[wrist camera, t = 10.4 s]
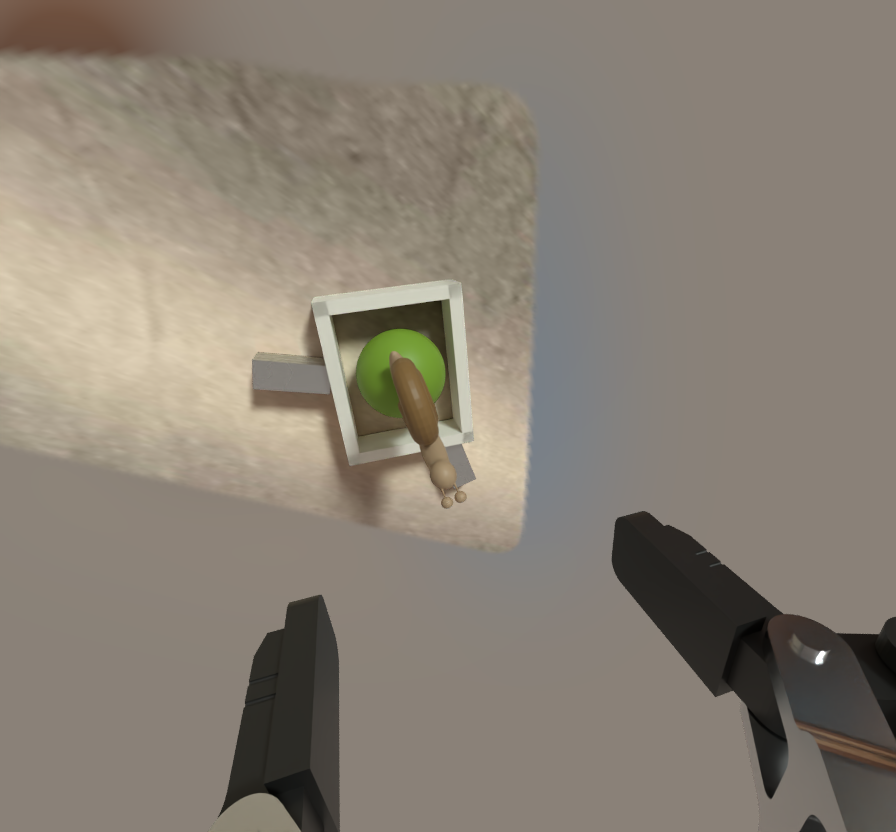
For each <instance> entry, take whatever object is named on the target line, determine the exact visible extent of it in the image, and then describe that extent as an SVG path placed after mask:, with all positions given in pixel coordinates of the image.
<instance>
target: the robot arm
mask: <svg viewBox="0 0 896 832" xmlns="http://www.w3.org/2000/svg"><path fill="white" fill-rule="evenodd" d="M612 565H613V568H614V571H615V574H616V575H617V578H618V579H619V581H620V582H621V583H622V584H623V586H624V587H625V588H626V589H627V591H628V592H629V593H630V594H631V595H632V597H633V598H634V599H635V600H636V601H637V603H638V604H639V605H640V606H641V607H642V609H643V610H644V611H645V612H646V614H647V615H648V616H649V617H650V618H651V619H652V621H653V622H654V623H655V624H656V625H657V627H658V628H659V629H660V630H661V632H662V633H663V634H664V635H665V637H666V638H667V639H668V640H669V641H670V643H671V644H672V645H673V646H674V647H675V649H676V650H677V651H678V652H679V653H680V655H681V656H682V657H683V658H684V659H685V661H686V662H687V663H688V664H689V665H690V667H691V668H692V669H693V670H694V672H695V673H696V674H697V675H698V677H699V678H700V679H701V680H702V681H703V683H704V684H705V685H706V686H707V687H708V689H709V690H710V691H711V692H712V693H713V695H714V696H715V697H717V696H720V695H722V694H725V693H727V692H730V691H734V692H735V693H736V694H737V695H738V697H739V698H740V699H741V703H740V712H741V717H742V722H743V727H744V732H745V737H746V742H747V747H748V752H749V757H750V762H751V767H752V773H753V778H754V783H755V787H756V793H757V798H758V805H759V827H758V832H896V617H893V618H890V619H888V620H887V621H886V622H885V624H884V626H883V628H882V630H881V632H880V634H840V633H835V632H834V631H832V630H831V629H829V628H828V627H826V626H824V625H822V624H820V623H818V622H816V621H814V620H812V619H809V618H806V617H802V616H799V615H793V614H783V613H782V612H780V611H779V610H778V609H777V608H775V607H774V606H773V605H772V604H771V603H769V602H768V601H767V600H766V599H765V598H763V597H762V596H761V595H760V594H759V593H757V592H756V591H755V590H754V589H753V588H751V587H750V586H749V585H748V584H747V583H746V582H744V581H743V580H742V579H741V578H740V577H738V576H737V575H736V574H735V573H734V572H732V571H731V570H730V569H729V568H728V567H726V566H725V565H722V564H721V562H720V561H719V560H718V559H717V558H716V557H715V556H713V555H712V554H711V553H710V552H709V553H708V552H707V551H706V549H705V548H704V547H703V546H702V545H700V544H699V543H698V542H697V541H696V540H694V539H693V538H692V537H691V536H690V535H688V534H686V533H684V532H682V531H680V530H678V529H676V528H674V527H672V526H670V525H666V526H663V525H662V524H661V523H660V522H659V521H658V520H657V519H655V518H654V517H653V516H652V515H651V514H650V513H647V512H645V511H642V512H638V513H634V514H630V515H626V516H623V517H619V518H618V519H617V520H616V522H615V530H614V540H613V550H612ZM339 817H340V814H339V659H338V649H337V643H336V638H335V634H334V631H333V627H332V624H331V621H330V618H329V615H328V612H327V608H326V605H325V602H324V599H323V597H322V595H317V596H313V597H309V598H306V599H302V600H298V601H294V602H290V603H289V604H288V607H287V614H286V620H285V628H284V629H281V630H277V631H274V632H270V633H267V635H266V637H265V638H264V640H263V642H262V644H261V645H260V647H259V649H258V651H257V652H256V654H255V656H254V659H253V664H252V669H251V674H250V679H249V686H248V689H247V695H246V699H245V708H244V710H243V715H242V720H241V725H240V730H239V735H238V740H237V745H236V750H235V755H234V760H233V766H232V770H231V775H230V780H229V786H228V790H227V795H226V798H225V802H224V805H223V807H222V810H221V812H220V815H219V816H218V819H217V820H216V821H215V822H214V824H213V825H212V827H211V828H210V830H209V831H208V832H340V829H339V828H340V823H339V822H340V819H339Z"/></svg>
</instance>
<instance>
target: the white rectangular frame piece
mask: <svg viewBox="0 0 896 832" xmlns="http://www.w3.org/2000/svg"><path fill="white" fill-rule="evenodd" d="M437 300H441V303H442V313H443V323H444V333H445V343H446V352H447V362H448V372H449V382H450V392H451V402H452V412H453V419H449V420H443V421H438V428H439V437H440V439H441V440H442V442H443V444H444V446H445V449H446V451H447V454H448V458H449V461H450V463H451V464H452V465H453V466H454V468H455V470H456V474H457V479H456V482H455V483H456V486H457V487H460V486H462V485H464V484H466V483H468V482H470V481H473V480H475V479H476V478H475V475H474V473H473V470H472V468H471V466H470V463H469V461H468V458H467V456H466V454H465V451H464V449H463V446H462V443H467V442H472V441H474V435H473V422H472V410H471V397H470V384H469V372H468V359H467V347H466V334H465V321H464V309H463V296H462V284H461V283H460V282H457V281H455V280H452V279H449V280H441V281H433V282H426V283H418V284H410V285H402V286H395V287H387V288H379V289H372V290H364V291H356V292H349V293H341V294H333V295H326V296H318V297H314V298H313V300H312V302H311V304H312V309H313V313H314V317H315V321H316V326H317V330H318V334H319V338H320V343H321V347H322V351H323V355H324V358H318V357H307V356H297V355H286V354H275V353H264V352H258V353H257V354H256V355H255V357H254V358H253V359H252V372H253V389H258V390H273V391H288V392H302V393H317V394H330V386H331V390H332V394H333V398H334V402H335V407H336V411H337V415H338V419H339V424H340V428H341V432H342V436H343V441H344V445H345V449H346V453H347V458H348V462H349V466H353V465H358V464H363V463H368V462H373V461H378V460H383V459H388V458H393V457H398V456H403V455H408V454H413V453H418V452H421V450H420V447H419V444H417V443H416V442H415V441H414V440H413V438H412V437H411V435H410V432H409V430H408V428H401V429H396V430H391V431H386V432H380V433H375V434H370V435H365V436H359V437H358V434H357V429H356V424H355V420H354V415H353V411H352V406H351V401H350V397H349V392H348V387H347V383H346V378H345V374H344V369H343V364H342V360H341V355H340V350H339V346H338V341H337V337H336V332H335V327H334V323H333V318H332V315H336V314H343V313H351V312H358V311H365V310H372V309H380V308H387V307H394V306H401V305H408V304H416V303H423V302H430V301H437ZM453 487H454V489H455V486H453Z"/></svg>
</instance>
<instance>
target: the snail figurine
mask: <svg viewBox="0 0 896 832" xmlns="http://www.w3.org/2000/svg"><path fill="white" fill-rule="evenodd" d="M445 375H446V374H445V365H444V361H443V358H442V355H441V353H440V352H439V350H438V348H437V347H436V346H435V345H434V343H433V342H432V341H431V340H429V339H428V338H427V337H425V336H424V335H422V334H420V333H418V332H416V331H413V330H408V329H392V330H388V331H385V332H383V333H380V334H379V335H377V336H375V337H374V338H373V339H371V340H370V341H369V342H368V343H367V344H366V346H365V347H364V348H363V350H362V352H361V354H360V356H359V359H358V362H357V367H356V378H357V384H358V387H359V390H360V392H361V394H362V396H363V397H364V399H365V400H366V402H367V403H368V404H369V405H370V406H371V407H372V408H374V409H375V410H376V411H378V412H380V413H382V414H384V415H386V416H390V417H394V418H403V419H404V422H405V424H406V426H407V428H408V430H409V432H410V435H411V437H412V438H413V440H414V441H415V442H416V443H417V444H419V447H420V450H421V453H422V456H423V458H424V461H425V463H426V464H427V466H428V468H429V470H430V477H431V480H432V482H433V484H434V485H435V486H436V487H438V488H440V489H441V491H442V493H443V496H444V498H443V499H442V501H441V504H442V507H443V508H446V509H448V508H450V507H452V505H453V500H452V499H451V498H450V497H446V496H445V493H444V490H447V489H450V488H452V487H453V486H455V488H456V490H457V493H456V494H455V500H456V501H457V502H458V503H462V502H464V501H465V500H466V494H465V493H464V492H463V491H459V490H458V488H457V486H456V483H455V482H456V479H457V474H456V470H455V468H454V466H453V465H452V464H451V463H450V461H449V458H448V454H447V451H446V449H445V446H444V444H443V442H442V440H441V439H440V437H439V428H438V415H437V412H436V408H435V404H434V403H435V402H436V401H437V399H438V398H439V396H440V394H441V392H442V390H443V387H444V383H445Z"/></svg>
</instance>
